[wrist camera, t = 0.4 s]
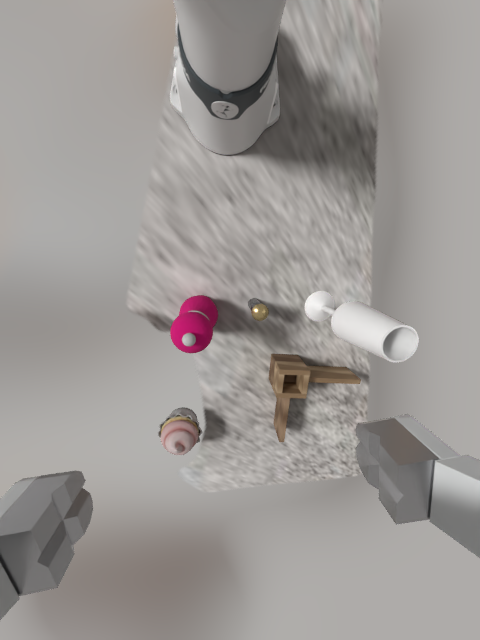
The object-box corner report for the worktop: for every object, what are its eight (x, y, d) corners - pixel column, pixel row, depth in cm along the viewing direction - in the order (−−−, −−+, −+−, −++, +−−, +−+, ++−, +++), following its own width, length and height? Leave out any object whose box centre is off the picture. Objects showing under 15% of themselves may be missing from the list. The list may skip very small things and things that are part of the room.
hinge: (334, 424, 60) (351, 449, 52) (263, 423, 58) (270, 448, 50) (348, 357, 55) (368, 372, 48) (271, 353, 54) (280, 369, 46)
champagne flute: (341, 302, 52) (437, 337, 29) (321, 327, 53) (399, 379, 30) (318, 284, 51) (400, 305, 28) (298, 310, 52) (361, 351, 29)
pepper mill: (190, 287, 49) (171, 305, 30) (223, 301, 50) (225, 327, 31) (177, 318, 50) (151, 356, 31) (210, 331, 51) (203, 375, 32)
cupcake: (211, 423, 57) (209, 456, 47) (177, 442, 57) (169, 479, 48) (189, 393, 55) (182, 422, 45) (154, 413, 55) (140, 446, 46)
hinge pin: (247, 296, 50) (252, 303, 42) (261, 297, 50) (269, 304, 42) (246, 310, 51) (251, 320, 43) (260, 311, 51) (267, 321, 43)
